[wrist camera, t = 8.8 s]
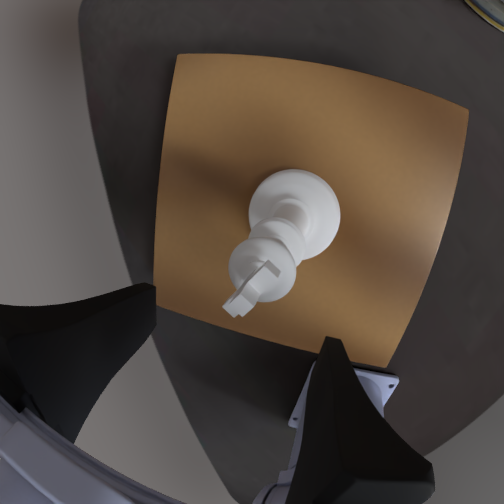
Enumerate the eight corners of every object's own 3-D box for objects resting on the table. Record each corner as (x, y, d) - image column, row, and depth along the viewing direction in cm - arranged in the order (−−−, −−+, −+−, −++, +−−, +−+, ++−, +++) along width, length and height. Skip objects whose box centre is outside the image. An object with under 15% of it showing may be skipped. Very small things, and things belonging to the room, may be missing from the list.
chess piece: (232, 215, 17) (121, 293, 8) (291, 149, 15) (228, 146, 6) (295, 274, 17) (251, 407, 8) (358, 215, 15) (395, 311, 6)
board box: (380, 335, 21) (385, 368, 18) (177, 282, 24) (152, 304, 21) (445, 116, 15) (469, 109, 11) (203, 67, 18) (177, 53, 14)
